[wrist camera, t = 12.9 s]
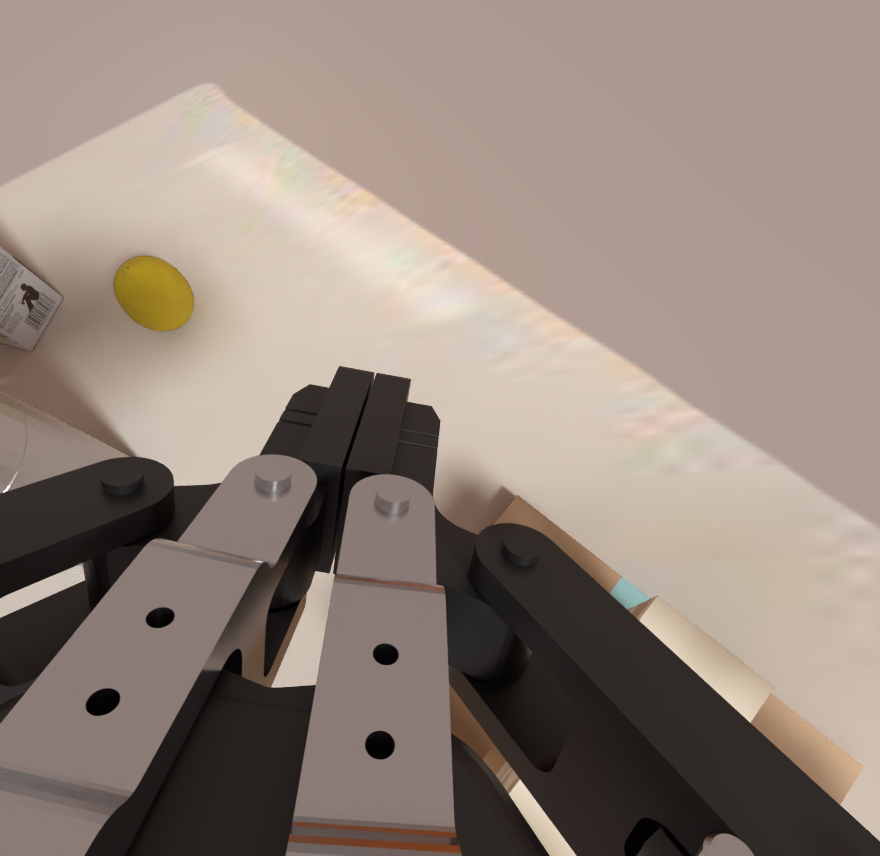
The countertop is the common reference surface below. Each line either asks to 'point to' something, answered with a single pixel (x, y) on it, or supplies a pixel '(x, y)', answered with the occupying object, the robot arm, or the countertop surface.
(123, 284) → the lemon
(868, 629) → the countertop surface
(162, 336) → the countertop surface
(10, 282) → the grey snack box
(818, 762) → the trap deck
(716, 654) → the birch block
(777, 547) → the countertop surface
